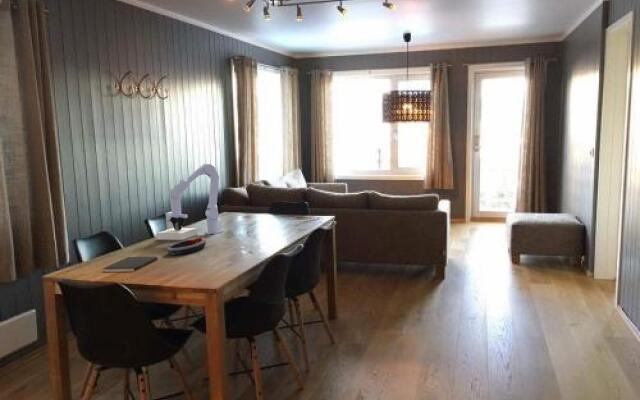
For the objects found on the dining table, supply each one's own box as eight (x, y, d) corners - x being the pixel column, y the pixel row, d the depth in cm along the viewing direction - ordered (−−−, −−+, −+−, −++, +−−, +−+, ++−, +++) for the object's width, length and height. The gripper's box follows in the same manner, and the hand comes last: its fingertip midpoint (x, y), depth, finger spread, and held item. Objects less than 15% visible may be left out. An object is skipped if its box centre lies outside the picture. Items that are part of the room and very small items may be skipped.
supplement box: (166, 231, 359) (164, 213, 357) (173, 229, 366) (171, 211, 364) (175, 231, 356) (174, 213, 354) (182, 229, 363) (180, 211, 361)
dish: (158, 256, 281) (157, 247, 280) (193, 244, 309) (192, 235, 309) (183, 257, 275) (182, 247, 275) (216, 245, 303) (215, 236, 303)
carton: (173, 235, 343) (172, 228, 343) (197, 235, 337) (196, 228, 336) (157, 240, 328) (156, 232, 328) (182, 240, 322) (181, 233, 321)
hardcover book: (103, 273, 252) (102, 268, 252) (128, 261, 274) (128, 257, 274) (134, 272, 249) (134, 267, 249) (157, 260, 272) (157, 256, 271)
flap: (172, 228, 343) (172, 221, 342) (196, 228, 336) (196, 221, 336) (165, 230, 335) (164, 223, 335) (189, 231, 329) (188, 224, 328)
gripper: (162, 208, 330) (164, 230, 332) (182, 208, 325) (184, 230, 327) (169, 207, 337) (171, 228, 338) (188, 206, 332) (190, 228, 333)
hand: (177, 229), depth 333 cm, fingers closed on flap, 2 cm apart
